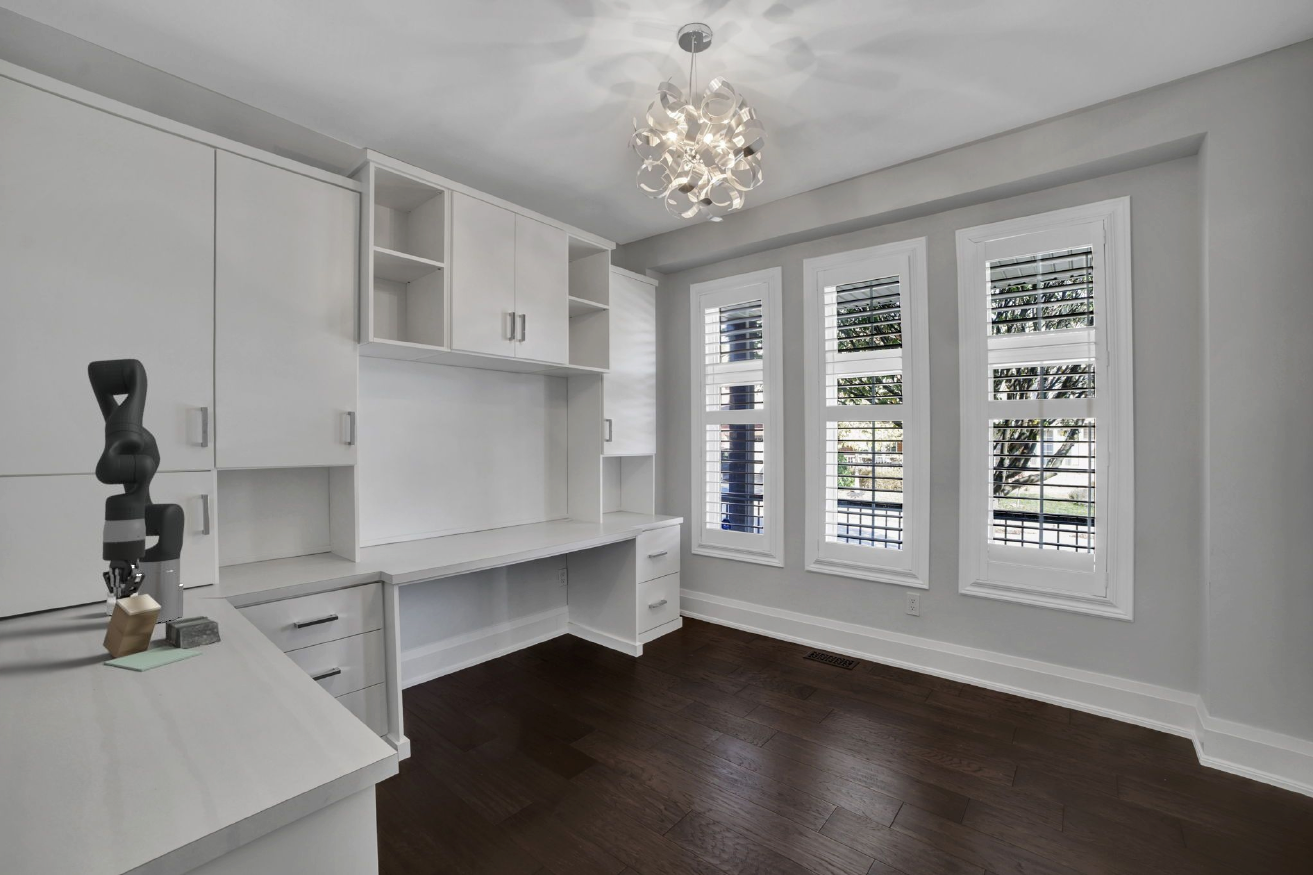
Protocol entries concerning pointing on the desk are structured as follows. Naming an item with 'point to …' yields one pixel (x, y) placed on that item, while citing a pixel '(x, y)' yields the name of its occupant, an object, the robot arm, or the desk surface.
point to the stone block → (192, 632)
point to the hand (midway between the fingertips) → (122, 612)
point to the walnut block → (131, 625)
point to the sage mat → (152, 658)
